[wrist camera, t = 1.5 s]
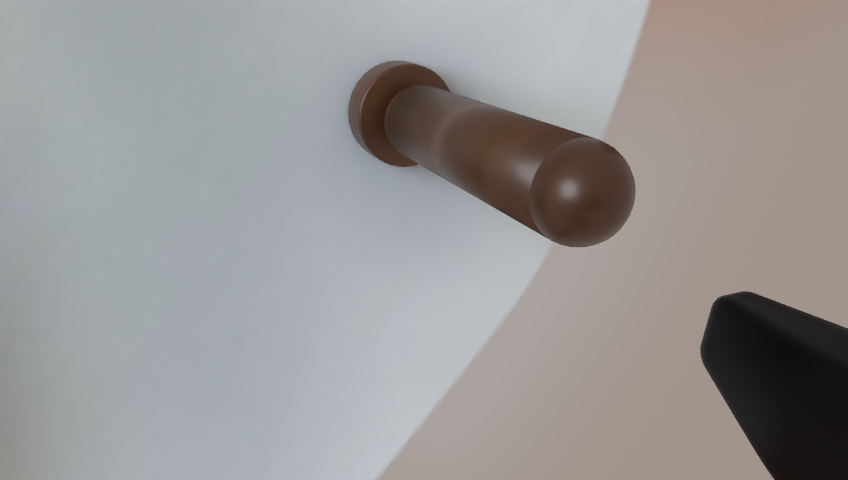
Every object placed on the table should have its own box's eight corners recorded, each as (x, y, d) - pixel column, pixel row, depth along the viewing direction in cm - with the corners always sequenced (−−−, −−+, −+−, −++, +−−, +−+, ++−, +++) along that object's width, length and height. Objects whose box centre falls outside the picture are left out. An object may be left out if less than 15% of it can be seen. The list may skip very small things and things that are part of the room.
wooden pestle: (458, 95, 26) (708, 175, 15) (407, 177, 26) (618, 312, 15) (382, 40, 24) (601, 86, 14) (328, 127, 24) (502, 240, 14)
